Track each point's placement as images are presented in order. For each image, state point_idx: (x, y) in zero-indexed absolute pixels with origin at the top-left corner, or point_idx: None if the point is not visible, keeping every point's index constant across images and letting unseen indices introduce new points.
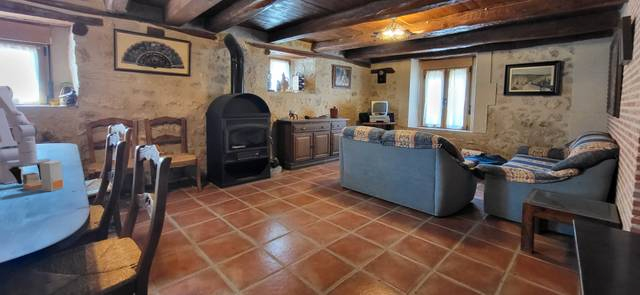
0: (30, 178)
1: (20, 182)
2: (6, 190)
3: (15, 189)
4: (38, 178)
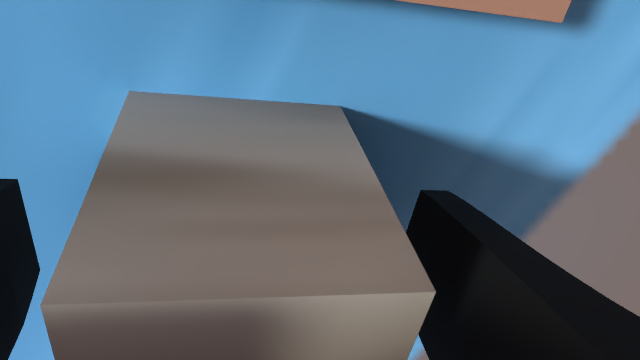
0: (314, 206)
1: (462, 206)
2: (609, 134)
3: (549, 77)
4: (103, 179)
